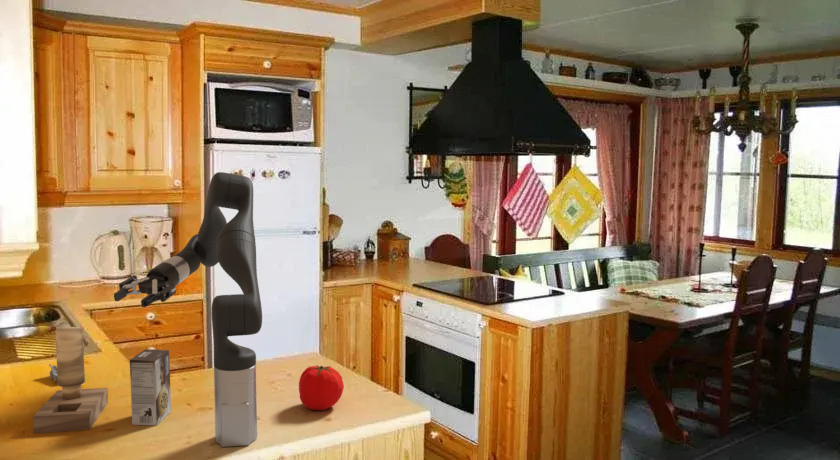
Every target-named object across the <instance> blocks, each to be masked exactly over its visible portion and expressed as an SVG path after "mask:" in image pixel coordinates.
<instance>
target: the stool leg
mask: <svg viewBox="0 0 840 460" xmlns="http://www.w3.org/2000/svg"><path fill="white" fill-rule="evenodd" d="M55 349H56V350H55V351H56V354H55V355H56V366H57V376H58V381H57V386H58V387H61V390H62V395H63V399H66V400H71V399H76V398H79V397H81V389H82V384H85V382H86V378H85V354H84V353H85V352H84V351H85V350H84V331H83V327H81V326H66V327H61V328H58V329H55Z"/></svg>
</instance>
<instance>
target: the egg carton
mask: <svg viewBox="0 0 840 460" xmlns="http://www.w3.org/2000/svg"><path fill="white" fill-rule="evenodd" d="M48 367H50V371H49V378H50V379H51V380H52V379H53V381H54V382H58V376H57V365H51V364H50V363H49V364H48Z"/></svg>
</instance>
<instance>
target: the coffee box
mask: <svg viewBox="0 0 840 460" xmlns="http://www.w3.org/2000/svg"><path fill="white" fill-rule="evenodd" d="M170 365H171V364H170V349H168V350H167V349H156V348H155V349H151V348H150V349H148V348H146V349H143V350H142V351H141V352H139V353H138V354H136V355H135V356H133V357H132V358H131V359H129V368H130V369H129V372H130V373H129V375H130V377H129V378H130V397H131V398H130V401H131V402H130V404H131V425H133V426H155V427H156V426H158V425H159V424H160V423H161V422H163V420H164V419H165V418H166V417H168V415H170V413H171V412H172V399H171V398H172V397H171V393H172V392H171V370H170V369H171V368H170V367H171V366H170Z"/></svg>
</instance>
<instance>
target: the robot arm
mask: <svg viewBox="0 0 840 460" xmlns="http://www.w3.org/2000/svg"><path fill="white" fill-rule="evenodd" d="M220 208H223V209H224V208H225V209H231V210H237V211H238V212H237V213H236V214H235V216H233V218H231V219H230V220H229V221H228V222H227V218H226V216H225V215H224V213H223V212H222V211H221V209H220ZM254 225H255V224H254V184H253V181H252V179H251V178H250V177H249V176H248V177H247V176H245V175H241V174H235V173H229V172H224V171H223V172H220V171H219V172H216V173H214V174H213V176H212V177H211V179H210V183H209V185H208V190H207V196H206V201H205V206H204V212H203V219H202V222H201V225H200V226H199V229H198V232H197V233H195V234H194V235H193V236H192V237H191V238H190V239H189V240H188V242H187V243H186V245H185V246H184V247H183V249H181V251H179V252H177V253H176V254H174V255H173V256H172V257H169V258H167V259H165V260H164V261H162V262H160V263H159V264H157V265H156V266H154V267H152V268H151V269H150V270H149V271H148V273H147V274H146V276H145V277H142V278H138V277H137V275H132V276H130V277H128V278H127V279H125V280H123V281H122V282H120V283H119V284H118V288H119V290H117V291H116V292H115V293H113V297H114V298H113V299H114V301H115V302H119V301H121V300H123V299H124V298H126V297H127V296H128V295H136V296H137V295H139V294H141V295H142V294H146V296H145V297H143V298H142V299H141V300H140V304H141V307H142V308H143V309H144V308H147V307H148V306H150V305H152V304H154V303H156V302H159V301H160V302H161V303H165V302H167V300H169V299H170V298H171V297H173V295H175V294H176V293H177V288H176V287H177V286H178V285H179V284H180V283H182V282H183V281H185V280H186V279H187V278H189V276H191V275H192V274H194V273H195V272H197V270H198V269H199V268H200V266H201V264H202V265H203V266H205V267H208V268H211V267H214V266H217V264H219V266H220V267H221V268H222V269H223V271H224V272H225V273H226V274H227V276H229V277H230V278H231V279H232V280H233V281H234V282H235V283H236V284H237V285H238V287H239V288H240V290H241V291H242V294H241V293H240V294H238V293H237V294H221V295H216V296H215V297H214V298H213V300H212V303H211V312H210V313H211V326H212V337H213V339H212V340H213V376H214V377H213V380H214V381H213V384H214V386H213V387H214V389H213V390H214V433H215V434H214V435H215V436H214V437H215V442H216V443H217V444H219V446H220V447H221V448H226V447H238V446H239V447H241V446H242V447H243V446H250V445H251V443H252V442H254V441H255V440H257V438H258V407H257V406H258V405H257V403H258V402H257V401H258V400H257V395H258V394H257V354H256V352H255V351H254V350H253V349H252V348H250V347H247V346H246V347H245V346H243V345H239V344H237V343H235V342H233V341H231V340H230V339H229V337H238V336H250V335H252V336H253V335H256V334H258V333H259V332H260V331H261V329H262V326H263V310H262V309H263V308H262V302H261V295H260V289H259V282H258V281H259V280H258V273H257V272H258V271H257V267H258V265H257V245H256V237H255V236H256V235H255V229H254V228H255V227H254ZM137 286H138V289H137Z"/></svg>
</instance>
